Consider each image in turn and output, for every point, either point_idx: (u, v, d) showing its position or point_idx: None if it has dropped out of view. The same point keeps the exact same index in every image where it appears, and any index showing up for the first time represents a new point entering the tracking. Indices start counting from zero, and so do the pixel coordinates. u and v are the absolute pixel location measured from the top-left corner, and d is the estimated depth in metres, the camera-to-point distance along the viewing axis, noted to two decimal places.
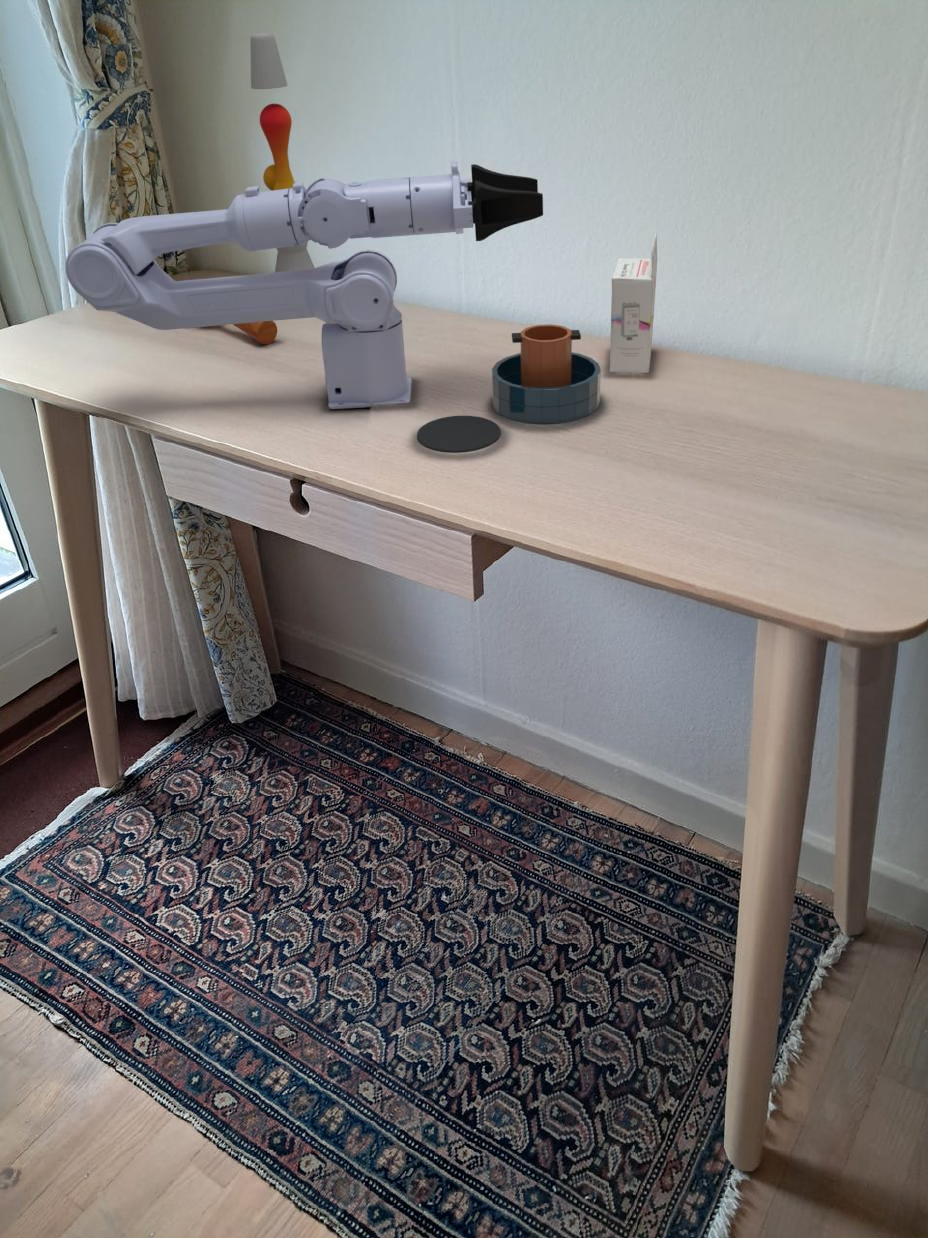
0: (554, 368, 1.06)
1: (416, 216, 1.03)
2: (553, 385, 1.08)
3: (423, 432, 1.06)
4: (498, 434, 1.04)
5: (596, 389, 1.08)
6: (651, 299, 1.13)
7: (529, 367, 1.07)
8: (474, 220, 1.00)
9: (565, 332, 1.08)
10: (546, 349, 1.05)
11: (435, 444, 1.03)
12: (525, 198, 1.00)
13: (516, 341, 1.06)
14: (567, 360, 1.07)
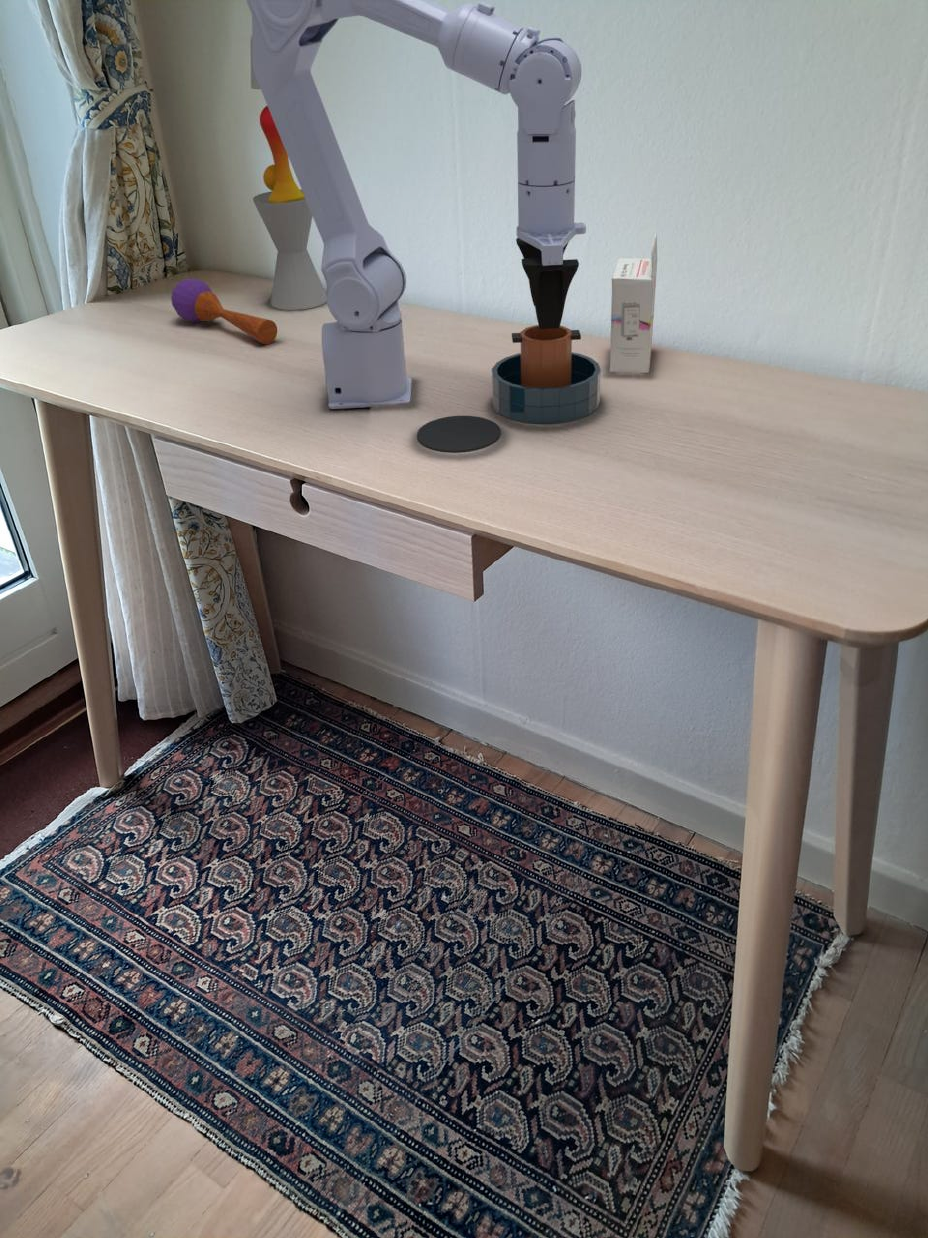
0: (554, 368, 1.06)
1: (544, 191, 0.96)
2: (553, 385, 1.08)
3: (423, 432, 1.06)
4: (498, 434, 1.04)
5: (596, 389, 1.08)
6: (651, 299, 1.13)
7: (529, 367, 1.07)
8: None
9: (565, 332, 1.08)
10: (546, 349, 1.05)
11: (435, 444, 1.03)
12: (557, 311, 1.01)
13: (516, 341, 1.06)
14: (567, 360, 1.07)
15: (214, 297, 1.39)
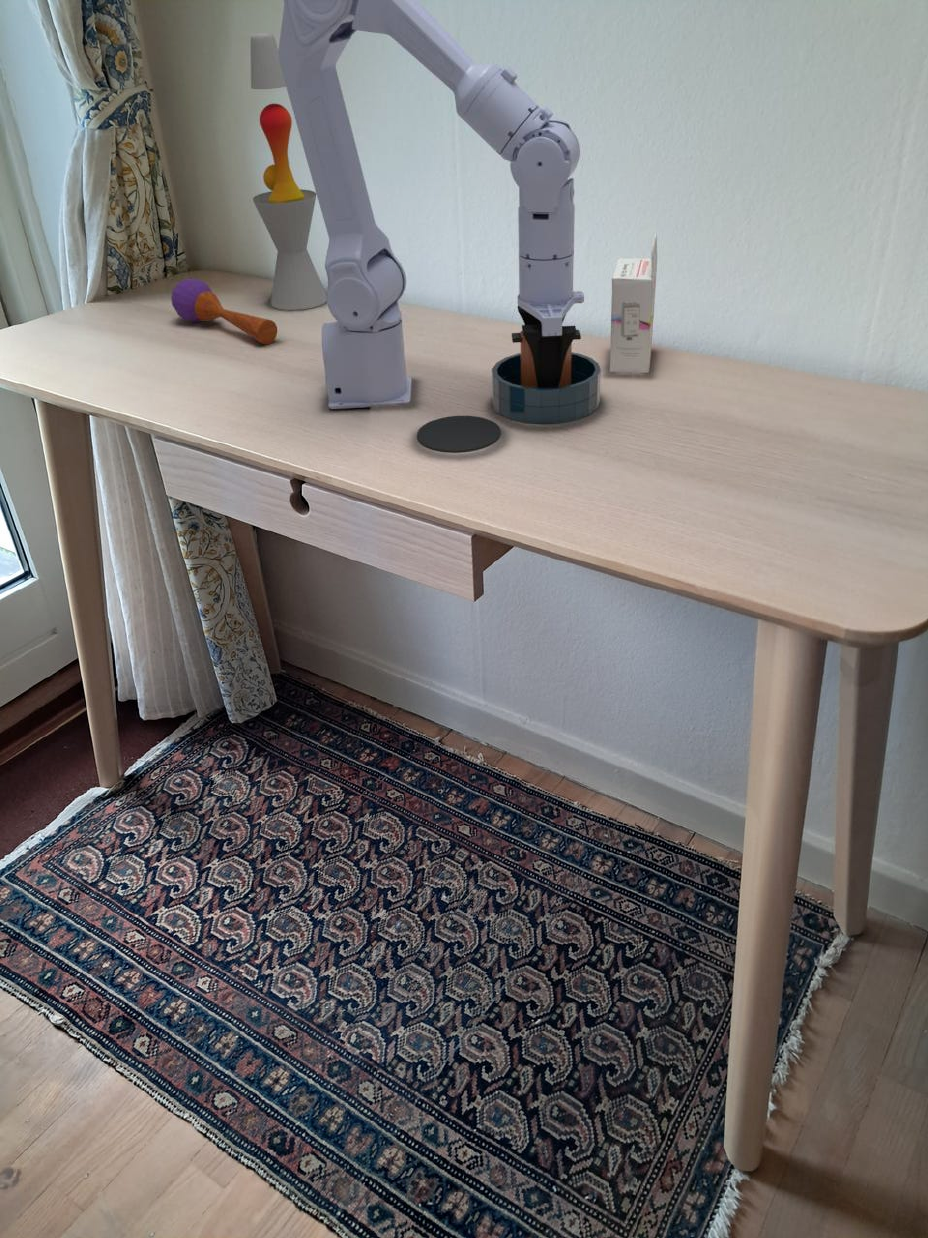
0: None
1: (544, 264, 1.00)
2: None
3: (423, 432, 1.06)
4: (498, 434, 1.04)
5: (596, 389, 1.08)
6: (651, 299, 1.13)
7: (529, 367, 1.07)
8: None
9: None
10: None
11: (435, 444, 1.03)
12: (556, 374, 1.06)
13: (516, 341, 1.07)
14: (567, 360, 1.07)
15: (214, 297, 1.39)
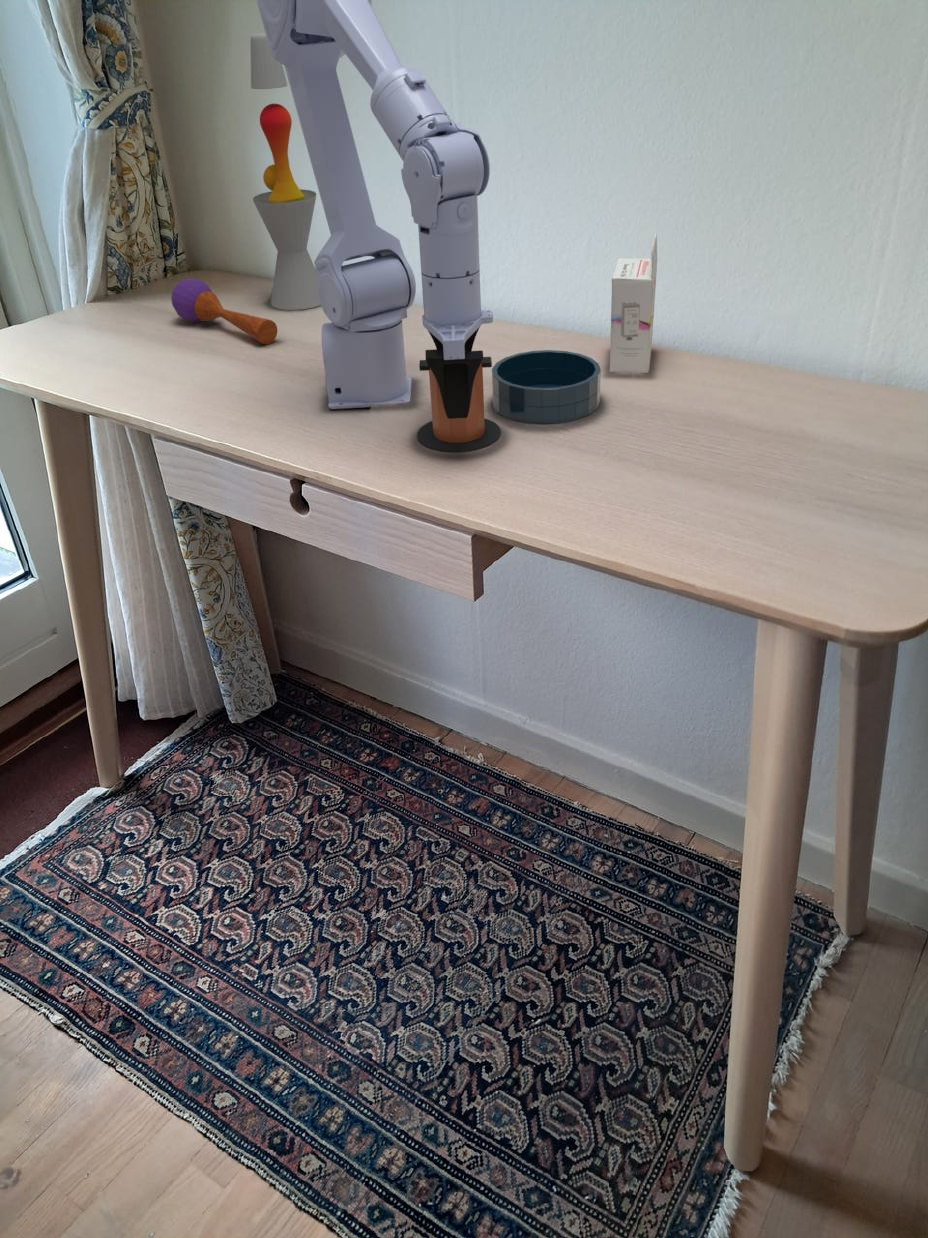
0: None
1: (446, 283, 0.94)
2: None
3: (423, 432, 1.06)
4: (498, 434, 1.04)
5: (596, 389, 1.08)
6: (651, 299, 1.13)
7: (437, 396, 1.01)
8: None
9: None
10: None
11: (435, 444, 1.03)
12: (464, 401, 0.99)
13: (423, 369, 1.00)
14: (478, 389, 1.01)
15: (214, 297, 1.39)
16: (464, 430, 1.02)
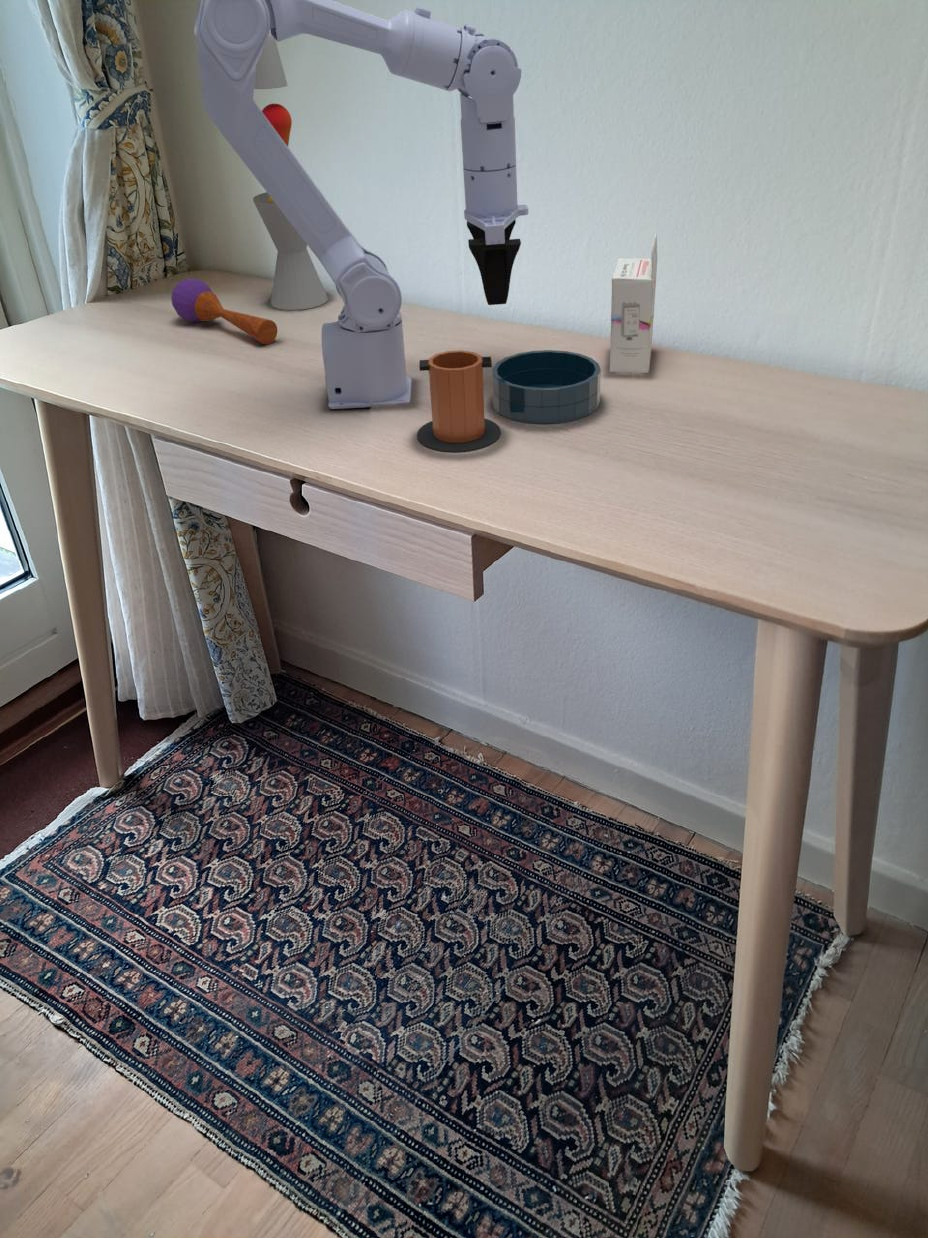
0: (463, 398, 1.00)
1: (486, 175, 1.04)
2: (463, 415, 1.01)
3: (423, 432, 1.06)
4: (498, 434, 1.04)
5: (596, 389, 1.08)
6: (651, 299, 1.13)
7: (437, 396, 1.01)
8: None
9: (476, 359, 1.02)
10: (454, 378, 0.99)
11: (435, 444, 1.03)
12: (503, 288, 1.09)
13: (423, 369, 1.00)
14: (478, 389, 1.01)
15: (214, 297, 1.39)
16: (464, 430, 1.02)
